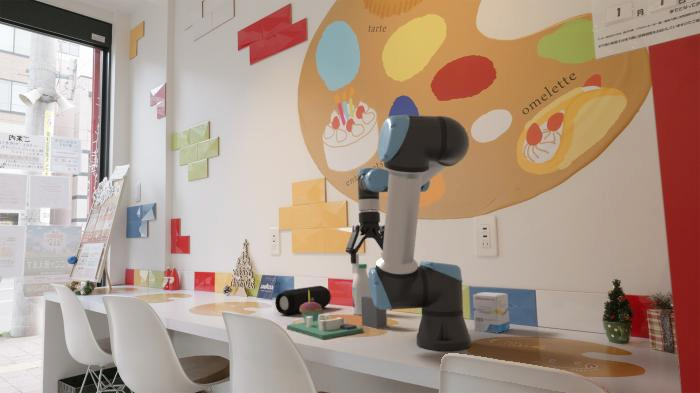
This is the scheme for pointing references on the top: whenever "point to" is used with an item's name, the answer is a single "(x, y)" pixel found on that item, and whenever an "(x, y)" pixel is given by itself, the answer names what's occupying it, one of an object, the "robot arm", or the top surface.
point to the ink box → (491, 311)
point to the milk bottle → (360, 289)
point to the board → (325, 327)
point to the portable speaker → (301, 299)
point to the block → (372, 314)
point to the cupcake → (310, 309)
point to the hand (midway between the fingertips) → (370, 272)
